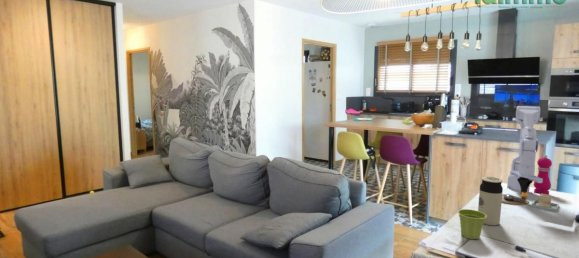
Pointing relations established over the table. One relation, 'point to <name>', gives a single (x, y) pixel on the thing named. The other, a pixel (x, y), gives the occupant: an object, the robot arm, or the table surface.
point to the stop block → (545, 200)
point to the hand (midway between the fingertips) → (523, 193)
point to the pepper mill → (543, 176)
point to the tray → (545, 207)
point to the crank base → (513, 201)
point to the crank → (522, 198)
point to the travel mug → (490, 199)
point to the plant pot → (471, 223)
